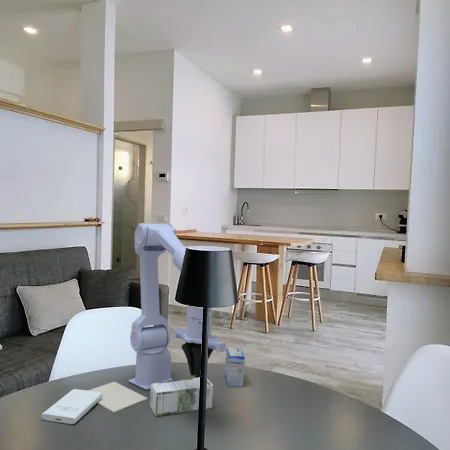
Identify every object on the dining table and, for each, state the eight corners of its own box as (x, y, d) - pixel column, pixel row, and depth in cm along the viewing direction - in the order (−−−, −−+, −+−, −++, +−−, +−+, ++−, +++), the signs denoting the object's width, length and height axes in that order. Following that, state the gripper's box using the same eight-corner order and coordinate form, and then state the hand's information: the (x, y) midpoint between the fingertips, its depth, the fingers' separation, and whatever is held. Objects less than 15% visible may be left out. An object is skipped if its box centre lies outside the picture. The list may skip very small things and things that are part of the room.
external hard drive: (102, 398, 101) (74, 424, 89) (72, 394, 103) (41, 419, 90) (102, 392, 101) (74, 417, 89) (72, 388, 103) (41, 412, 90)
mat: (114, 383, 112) (114, 381, 112) (147, 399, 103) (147, 398, 103) (81, 394, 104) (81, 392, 104) (113, 413, 95) (113, 411, 95)
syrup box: (149, 406, 99) (204, 397, 105) (155, 417, 94) (213, 407, 100) (150, 382, 99) (205, 375, 105) (156, 392, 94) (214, 384, 100)
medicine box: (224, 375, 121) (226, 346, 120) (239, 375, 121) (241, 346, 121) (227, 387, 113) (229, 355, 113) (243, 387, 113) (245, 356, 113)
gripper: (164, 313, 95) (162, 371, 95) (211, 326, 85) (208, 390, 86) (186, 308, 100) (183, 363, 100) (232, 320, 91) (229, 380, 91)
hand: (196, 375), depth 93 cm, fingers closed
